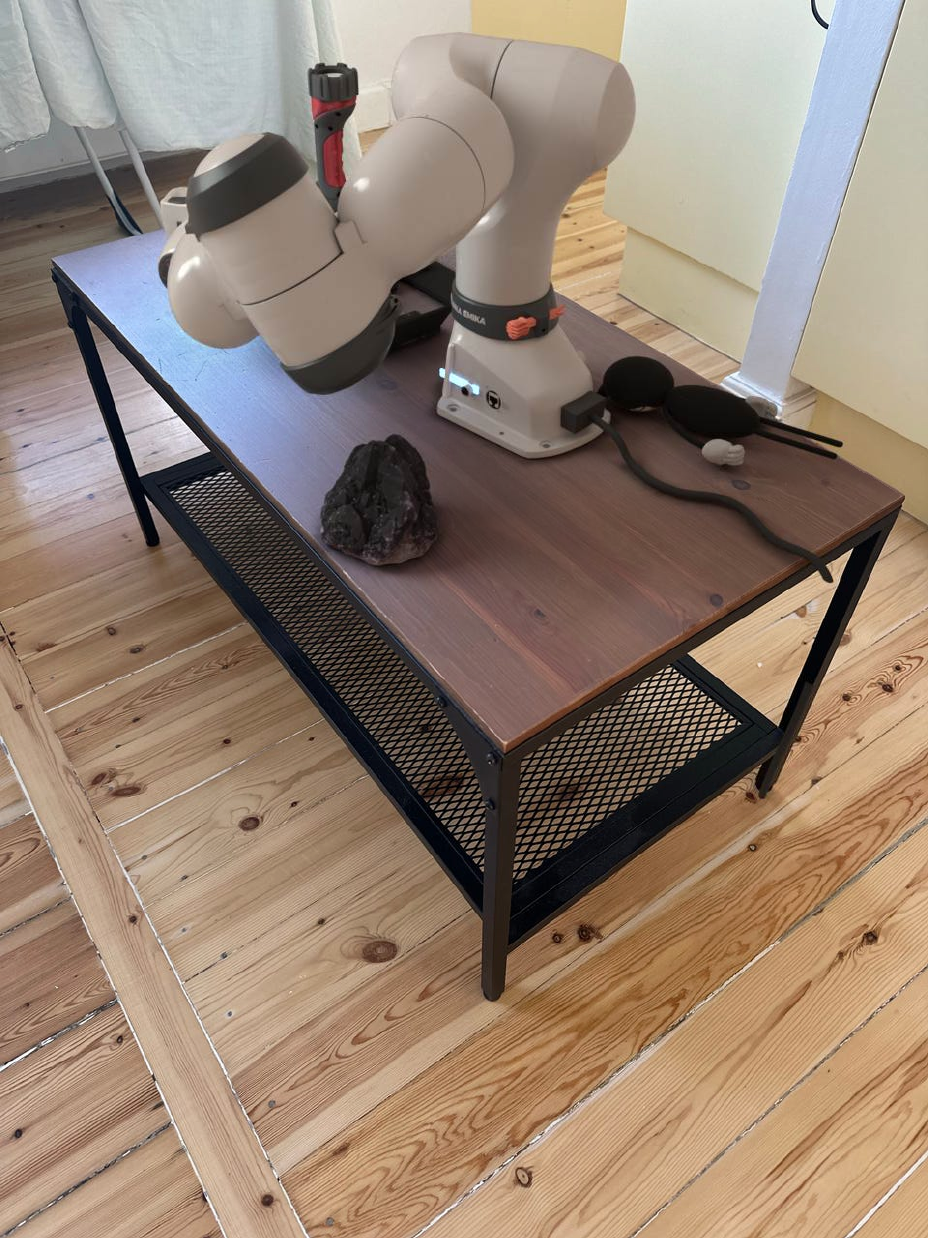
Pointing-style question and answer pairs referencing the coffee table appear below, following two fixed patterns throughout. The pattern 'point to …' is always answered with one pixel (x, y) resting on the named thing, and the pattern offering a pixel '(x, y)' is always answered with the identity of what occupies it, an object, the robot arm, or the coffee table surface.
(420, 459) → the crystal cluster
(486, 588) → the coffee table surface
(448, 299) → the smartphone
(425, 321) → the handheld gaming console
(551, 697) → the coffee table surface
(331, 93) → the flashlight
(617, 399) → the toy
